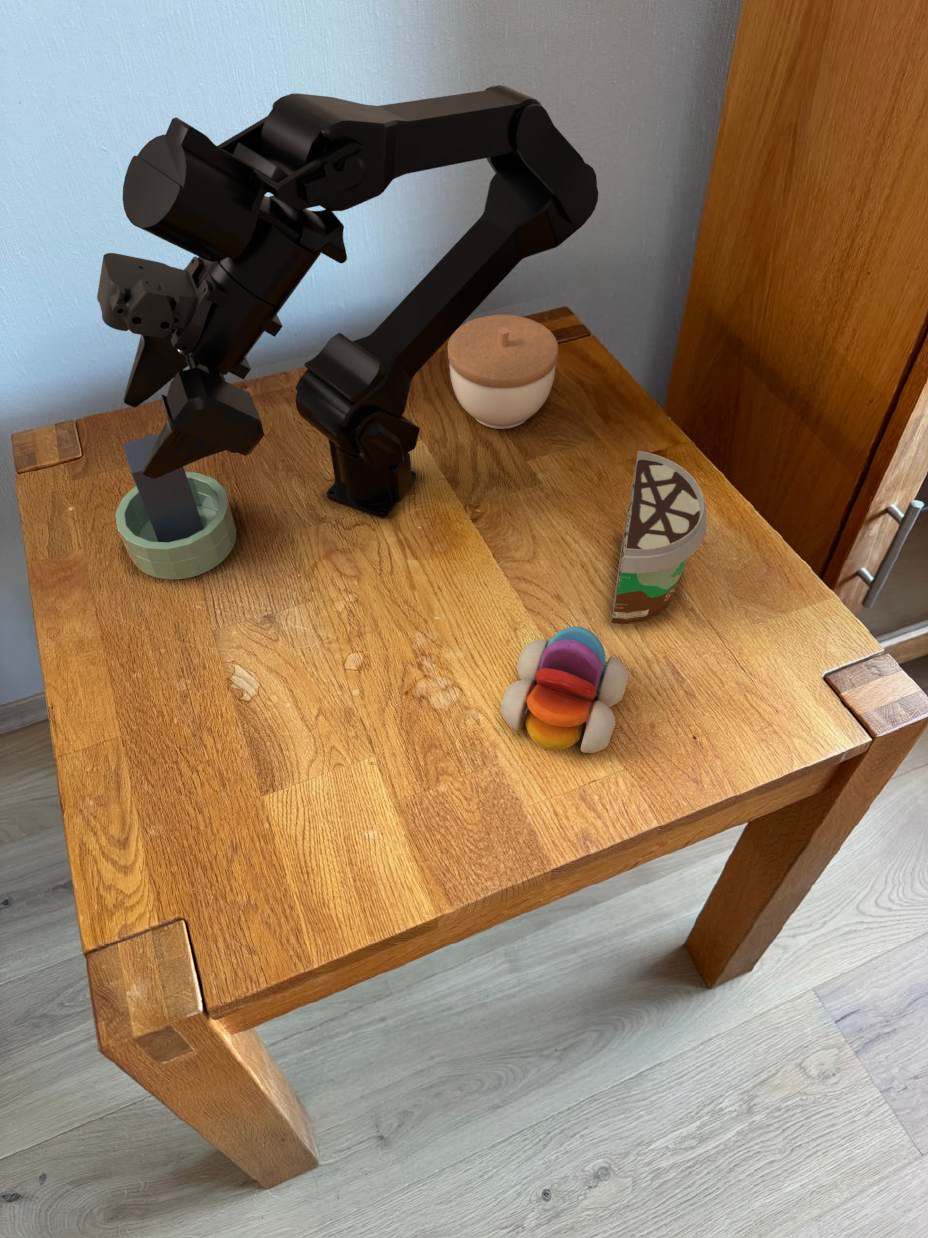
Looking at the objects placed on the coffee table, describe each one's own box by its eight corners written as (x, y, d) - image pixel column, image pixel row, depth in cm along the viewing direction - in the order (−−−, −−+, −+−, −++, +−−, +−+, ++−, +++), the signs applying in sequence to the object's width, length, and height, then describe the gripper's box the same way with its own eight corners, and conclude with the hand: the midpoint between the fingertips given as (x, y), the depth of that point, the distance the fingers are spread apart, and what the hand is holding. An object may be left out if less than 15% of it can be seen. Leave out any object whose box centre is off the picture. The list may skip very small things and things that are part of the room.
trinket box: (427, 408, 95) (423, 329, 87) (502, 365, 99) (504, 286, 92) (500, 458, 90) (502, 379, 82) (574, 411, 94) (583, 331, 87)
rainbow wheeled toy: (491, 743, 69) (492, 688, 64) (530, 647, 75) (534, 589, 69) (600, 776, 67) (611, 723, 62) (631, 675, 73) (644, 618, 67)
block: (198, 515, 84) (170, 430, 77) (208, 544, 82) (180, 459, 74) (155, 528, 83) (122, 443, 76) (164, 557, 81) (131, 473, 73)
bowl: (107, 557, 82) (92, 526, 79) (174, 491, 87) (163, 459, 84) (193, 594, 79) (182, 562, 76) (257, 523, 84) (249, 491, 81)
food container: (684, 647, 75) (708, 565, 67) (609, 636, 76) (624, 554, 68) (691, 540, 82) (714, 455, 75) (623, 531, 83) (638, 446, 75)
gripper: (125, 155, 65) (23, 326, 71) (173, 289, 54) (48, 478, 60) (254, 239, 73) (153, 386, 79) (320, 370, 62) (196, 530, 68)
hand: (138, 438), depth 71 cm, fingers open, 9 cm apart
